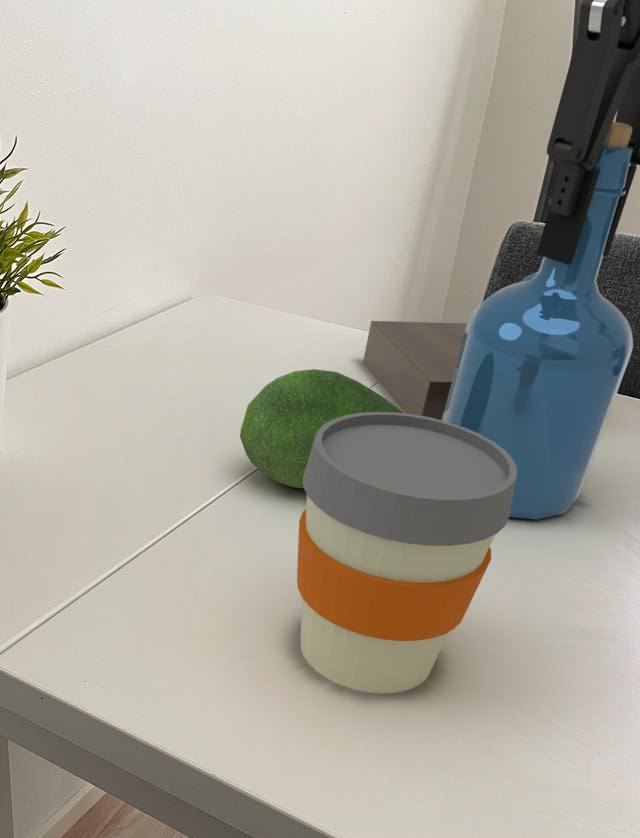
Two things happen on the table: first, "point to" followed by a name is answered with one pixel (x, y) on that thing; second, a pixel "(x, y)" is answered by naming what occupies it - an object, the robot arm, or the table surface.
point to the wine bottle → (550, 358)
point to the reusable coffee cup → (394, 543)
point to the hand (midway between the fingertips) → (572, 254)
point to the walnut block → (415, 362)
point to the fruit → (300, 419)
